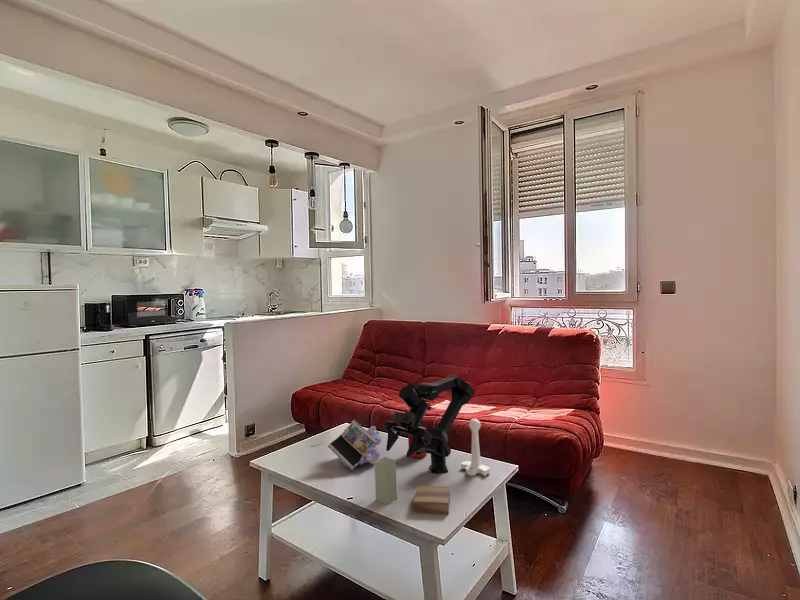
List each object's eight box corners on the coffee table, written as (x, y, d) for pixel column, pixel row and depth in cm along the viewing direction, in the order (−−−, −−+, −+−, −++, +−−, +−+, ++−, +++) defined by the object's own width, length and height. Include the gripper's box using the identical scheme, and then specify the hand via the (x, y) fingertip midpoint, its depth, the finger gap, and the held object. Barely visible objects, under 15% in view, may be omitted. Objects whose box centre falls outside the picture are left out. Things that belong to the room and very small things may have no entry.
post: (386, 494, 147) (384, 456, 146) (396, 498, 143) (395, 460, 143) (375, 500, 143) (374, 461, 143) (386, 504, 140) (385, 465, 139)
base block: (417, 495, 145) (417, 485, 145) (450, 497, 143) (449, 486, 143) (413, 512, 134) (412, 501, 134) (448, 514, 132) (448, 503, 132)
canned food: (418, 460, 175) (418, 434, 175) (404, 455, 181) (404, 429, 180) (430, 454, 181) (430, 429, 180) (417, 449, 186) (416, 424, 186)
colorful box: (380, 437, 191) (358, 406, 188) (397, 451, 170) (373, 416, 167) (343, 468, 184) (320, 436, 181) (356, 487, 164) (330, 451, 161)
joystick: (492, 472, 161) (490, 420, 160) (481, 479, 155) (479, 425, 155) (467, 465, 168) (465, 415, 168) (456, 471, 163) (454, 419, 162)
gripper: (386, 398, 157) (365, 436, 149) (426, 406, 145) (406, 447, 137) (400, 414, 163) (381, 451, 155) (440, 423, 151) (422, 464, 143)
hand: (396, 453), depth 147 cm, fingers open, 9 cm apart
